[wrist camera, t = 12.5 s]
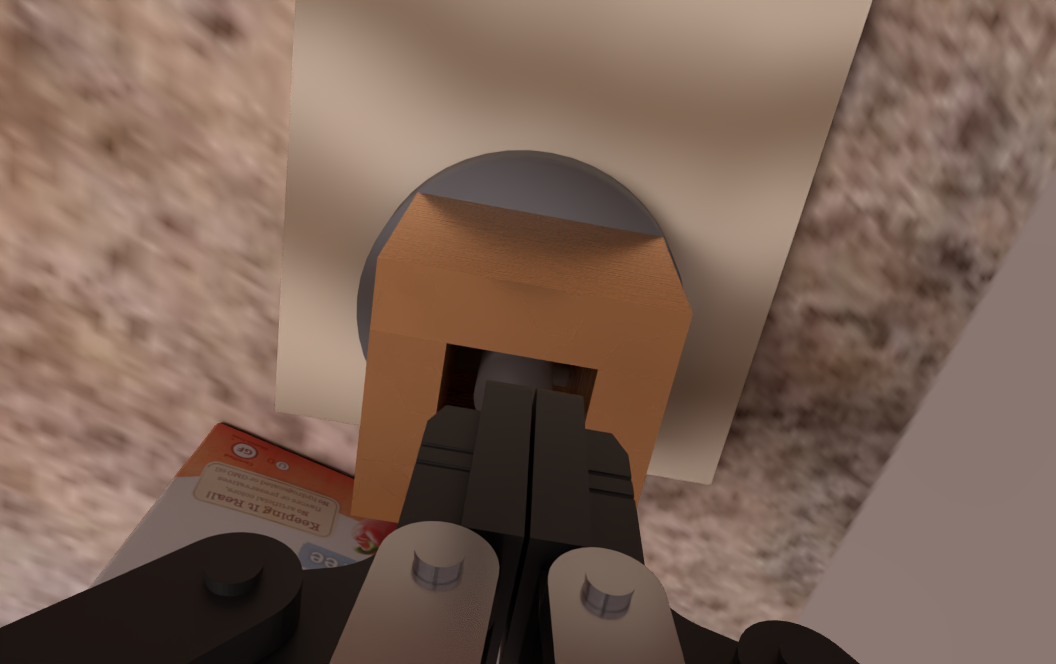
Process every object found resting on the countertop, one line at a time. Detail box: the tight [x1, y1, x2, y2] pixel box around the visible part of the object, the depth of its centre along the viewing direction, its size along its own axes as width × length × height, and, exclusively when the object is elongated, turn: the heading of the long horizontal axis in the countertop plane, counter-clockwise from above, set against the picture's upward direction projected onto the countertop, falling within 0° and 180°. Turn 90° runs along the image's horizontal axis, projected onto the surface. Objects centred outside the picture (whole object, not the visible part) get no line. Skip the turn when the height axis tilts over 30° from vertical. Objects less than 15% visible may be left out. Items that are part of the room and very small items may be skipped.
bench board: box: [275, 0, 872, 485], centre depth 18 cm, size 24×14×7 cm, turn 170°
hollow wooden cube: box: [351, 192, 693, 523], centre depth 19 cm, size 6×6×5 cm
